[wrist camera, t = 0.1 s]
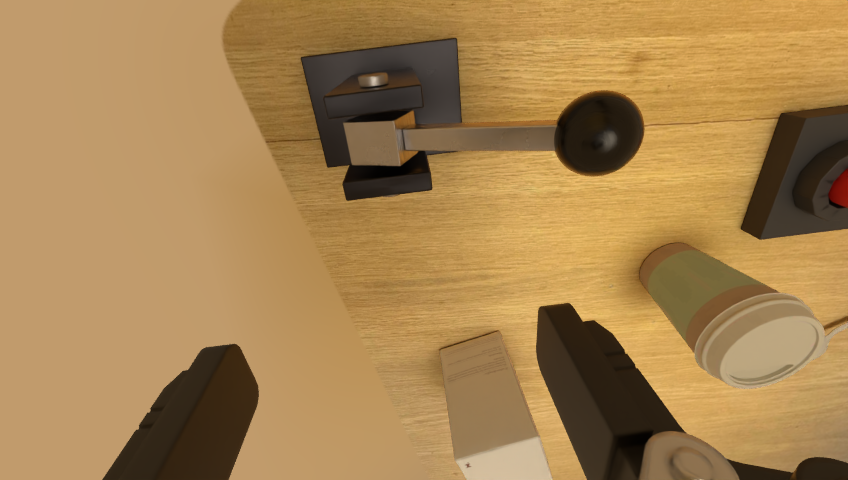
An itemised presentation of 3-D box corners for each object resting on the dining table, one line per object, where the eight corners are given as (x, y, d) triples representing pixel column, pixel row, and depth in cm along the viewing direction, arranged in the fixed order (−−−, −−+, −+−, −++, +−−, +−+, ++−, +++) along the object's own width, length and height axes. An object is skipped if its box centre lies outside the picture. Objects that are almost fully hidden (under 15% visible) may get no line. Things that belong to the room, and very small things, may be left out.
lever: (646, 81, 15) (658, 96, 12) (632, 162, 17) (640, 190, 14) (368, 98, 20) (334, 111, 17) (379, 159, 22) (348, 180, 19)
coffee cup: (609, 285, 38) (688, 378, 28) (665, 217, 35) (781, 294, 24) (669, 309, 40) (764, 404, 30) (728, 248, 37) (859, 330, 26)
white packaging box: (457, 389, 45) (476, 504, 33) (438, 348, 41) (452, 461, 30) (515, 372, 44) (555, 484, 33) (501, 328, 40) (540, 437, 29)
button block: (780, 113, 31) (830, 122, 27) (887, 99, 31) (950, 107, 27) (740, 229, 36) (777, 249, 32) (831, 217, 36) (877, 236, 32)
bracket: (454, 37, 27) (495, 35, 15) (461, 147, 30) (498, 209, 19) (304, 56, 27) (235, 68, 15) (329, 163, 30) (289, 235, 19)
